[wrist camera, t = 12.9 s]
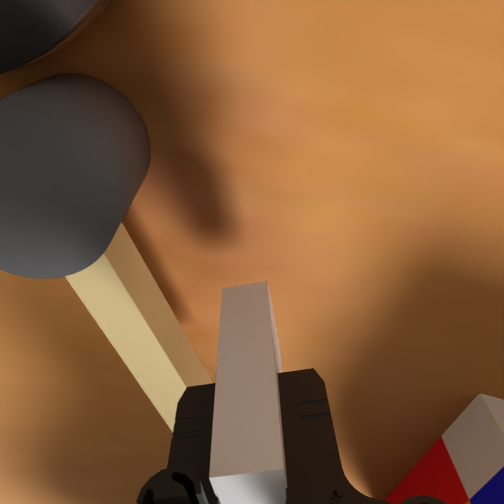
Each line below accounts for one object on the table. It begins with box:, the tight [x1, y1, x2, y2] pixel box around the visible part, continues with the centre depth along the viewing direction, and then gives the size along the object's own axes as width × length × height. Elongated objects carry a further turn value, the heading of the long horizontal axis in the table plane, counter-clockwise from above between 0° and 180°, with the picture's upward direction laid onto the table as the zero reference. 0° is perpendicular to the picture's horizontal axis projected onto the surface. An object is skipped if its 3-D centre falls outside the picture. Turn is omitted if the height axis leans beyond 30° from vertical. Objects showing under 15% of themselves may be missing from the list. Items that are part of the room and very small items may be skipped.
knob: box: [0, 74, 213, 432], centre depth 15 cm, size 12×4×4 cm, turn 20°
